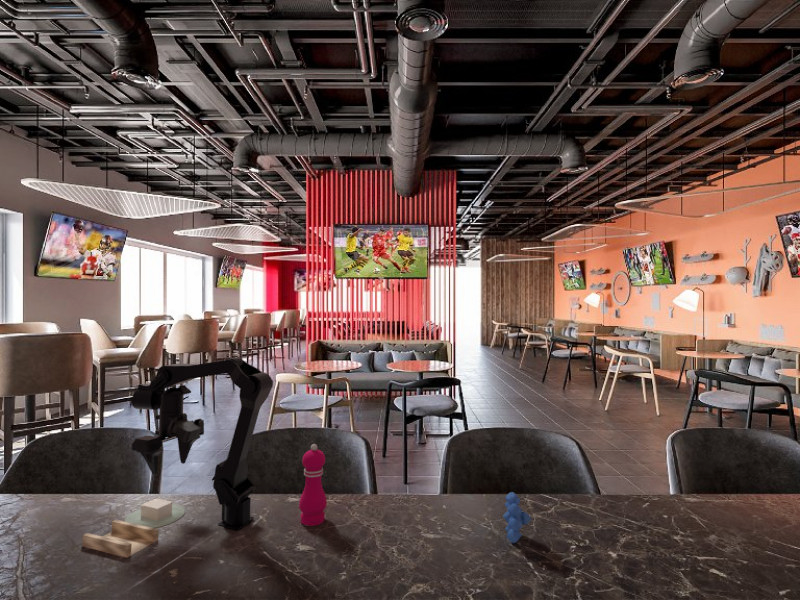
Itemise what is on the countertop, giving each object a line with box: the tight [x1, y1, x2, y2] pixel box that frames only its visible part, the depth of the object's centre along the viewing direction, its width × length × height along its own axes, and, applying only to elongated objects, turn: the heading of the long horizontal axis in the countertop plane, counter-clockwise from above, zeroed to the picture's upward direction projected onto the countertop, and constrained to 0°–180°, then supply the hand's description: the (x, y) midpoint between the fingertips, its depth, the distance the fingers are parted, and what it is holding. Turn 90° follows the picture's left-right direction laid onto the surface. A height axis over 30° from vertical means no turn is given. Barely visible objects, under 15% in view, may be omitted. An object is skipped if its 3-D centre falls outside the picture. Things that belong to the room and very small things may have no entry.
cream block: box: [140, 498, 173, 521], centre depth 114 cm, size 6×4×3 cm
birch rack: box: [81, 519, 159, 558], centre depth 100 cm, size 14×8×3 cm, turn 71°
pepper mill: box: [298, 443, 328, 527], centre depth 113 cm, size 7×7×20 cm
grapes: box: [502, 491, 532, 544], centre depth 103 cm, size 12×7×12 cm, turn 171°
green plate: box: [124, 503, 186, 529], centre depth 114 cm, size 14×14×1 cm
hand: (169, 468), depth 115 cm, fingers open, 9 cm apart
